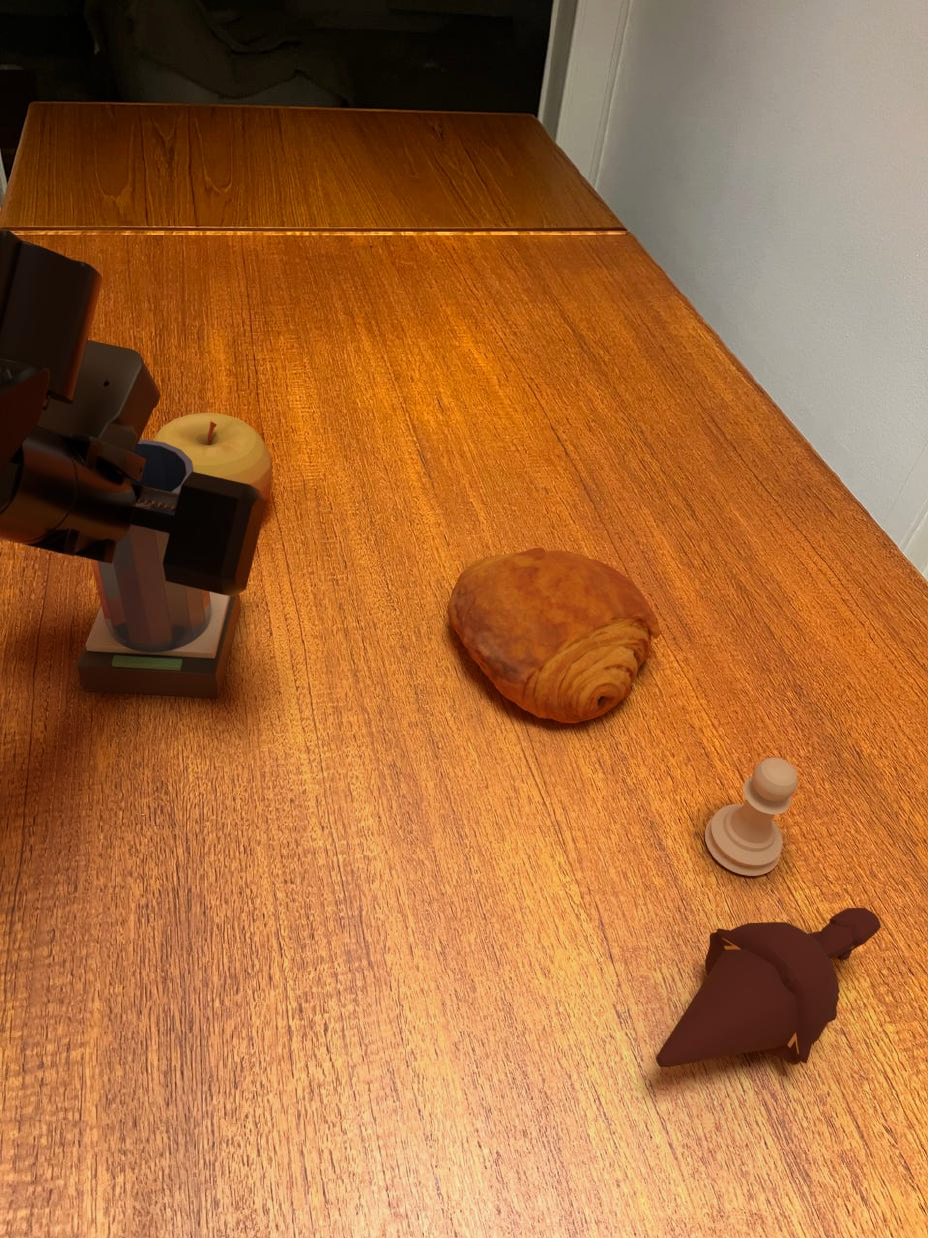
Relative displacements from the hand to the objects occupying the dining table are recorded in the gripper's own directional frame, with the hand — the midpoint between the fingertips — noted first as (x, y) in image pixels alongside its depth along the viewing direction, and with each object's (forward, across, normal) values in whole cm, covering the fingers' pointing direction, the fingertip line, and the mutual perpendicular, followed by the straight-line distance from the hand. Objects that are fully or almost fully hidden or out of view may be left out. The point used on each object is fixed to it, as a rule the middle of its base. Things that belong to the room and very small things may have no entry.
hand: (156, 526), depth 63 cm
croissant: (+12, -26, +2) cm, 29 cm away
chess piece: (+3, -41, +11) cm, 42 cm away
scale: (+6, 0, +8) cm, 10 cm away
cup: (+4, 0, +6) cm, 7 cm away
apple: (+17, +3, -3) cm, 18 cm away
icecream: (-5, -42, +19) cm, 46 cm away
